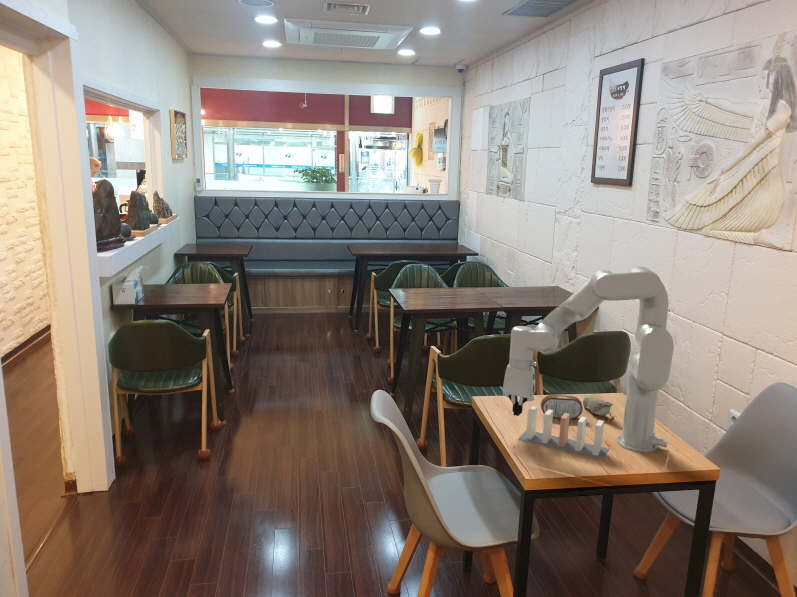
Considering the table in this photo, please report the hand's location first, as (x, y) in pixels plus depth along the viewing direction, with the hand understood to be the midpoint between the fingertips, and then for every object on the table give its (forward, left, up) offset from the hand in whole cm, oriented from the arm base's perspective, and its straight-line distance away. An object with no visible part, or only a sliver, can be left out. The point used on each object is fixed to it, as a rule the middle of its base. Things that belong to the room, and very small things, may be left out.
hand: (517, 414), depth 205 cm
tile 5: (-27, 0, -7) cm, 28 cm away
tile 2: (-11, 0, -7) cm, 13 cm away
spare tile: (-16, 0, -7) cm, 18 cm away
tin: (-9, -24, -8) cm, 27 cm away
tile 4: (-22, 0, -7) cm, 23 cm away
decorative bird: (-20, -34, -8) cm, 41 cm away
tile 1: (-5, 0, -7) cm, 9 cm away
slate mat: (-16, 0, -7) cm, 18 cm away
